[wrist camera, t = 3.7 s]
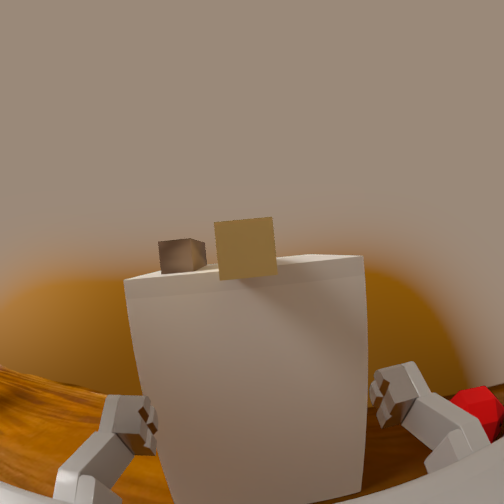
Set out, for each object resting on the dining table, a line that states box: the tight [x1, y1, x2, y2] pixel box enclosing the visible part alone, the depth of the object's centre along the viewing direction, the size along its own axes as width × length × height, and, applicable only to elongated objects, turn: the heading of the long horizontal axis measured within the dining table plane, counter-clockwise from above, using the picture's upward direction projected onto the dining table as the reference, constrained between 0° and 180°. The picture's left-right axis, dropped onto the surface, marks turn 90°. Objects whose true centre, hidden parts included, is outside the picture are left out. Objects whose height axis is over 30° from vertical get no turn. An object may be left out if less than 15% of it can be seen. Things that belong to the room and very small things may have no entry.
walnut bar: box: [158, 238, 207, 275], centre depth 36 cm, size 3×14×3 cm, turn 3°
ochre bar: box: [214, 217, 278, 281], centre depth 29 cm, size 3×24×3 cm, turn 3°
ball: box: [450, 386, 504, 444], centre depth 29 cm, size 8×8×8 cm
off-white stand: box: [124, 254, 368, 504], centre depth 36 cm, size 20×20×26 cm
